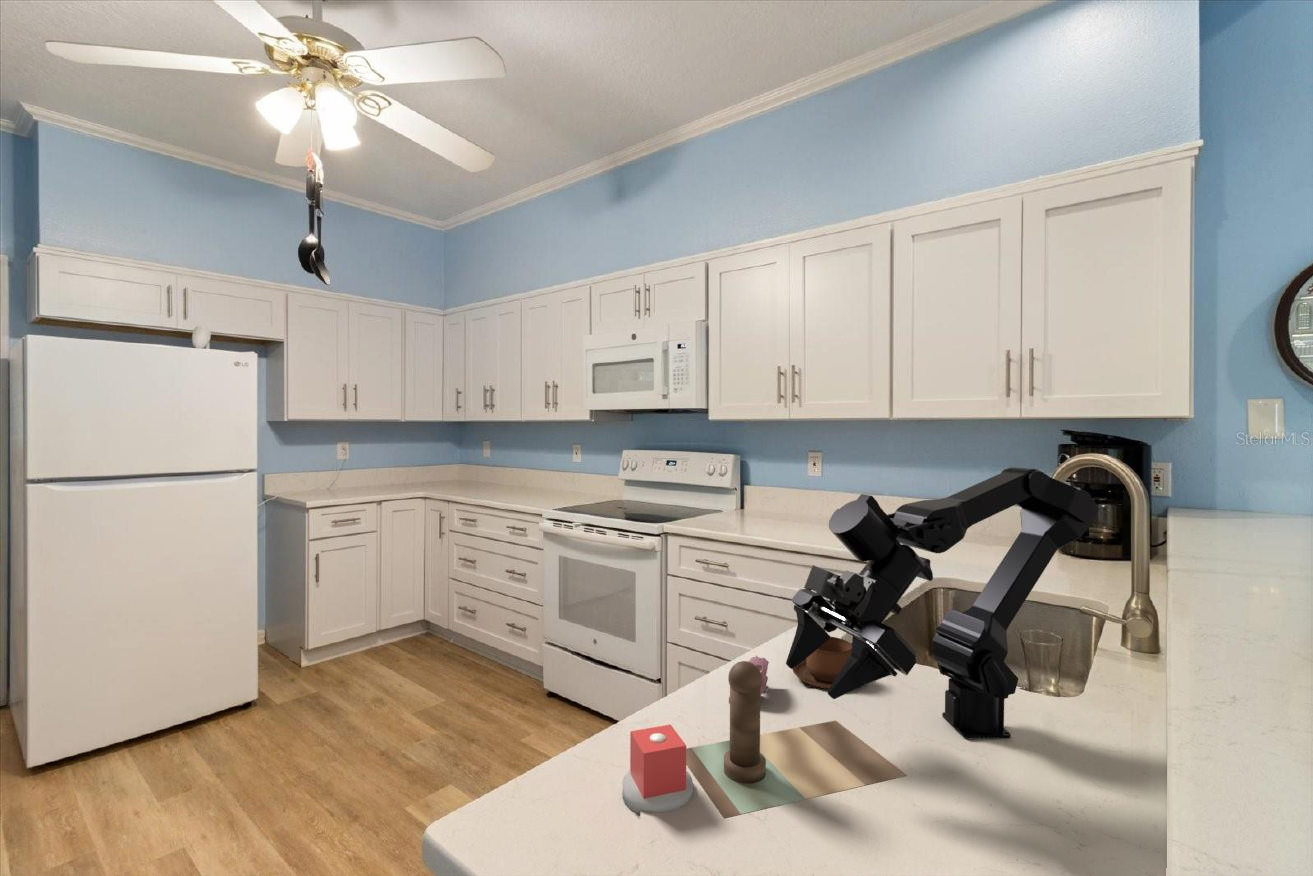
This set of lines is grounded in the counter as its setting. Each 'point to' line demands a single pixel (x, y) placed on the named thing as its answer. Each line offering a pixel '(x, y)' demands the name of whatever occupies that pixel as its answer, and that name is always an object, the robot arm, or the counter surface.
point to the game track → (791, 768)
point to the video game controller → (763, 667)
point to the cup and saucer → (824, 663)
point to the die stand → (657, 771)
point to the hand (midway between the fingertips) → (808, 680)
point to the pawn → (745, 725)
